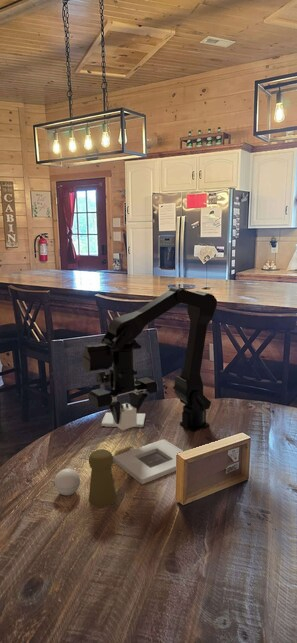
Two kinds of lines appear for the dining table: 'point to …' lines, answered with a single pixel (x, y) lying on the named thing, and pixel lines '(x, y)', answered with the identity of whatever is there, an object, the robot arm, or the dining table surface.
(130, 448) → the grey bar
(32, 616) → the dining table surface
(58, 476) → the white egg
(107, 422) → the external hard drive
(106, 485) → the olive pawn
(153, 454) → the outlet plate
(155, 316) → the robot arm
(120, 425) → the charger brick
